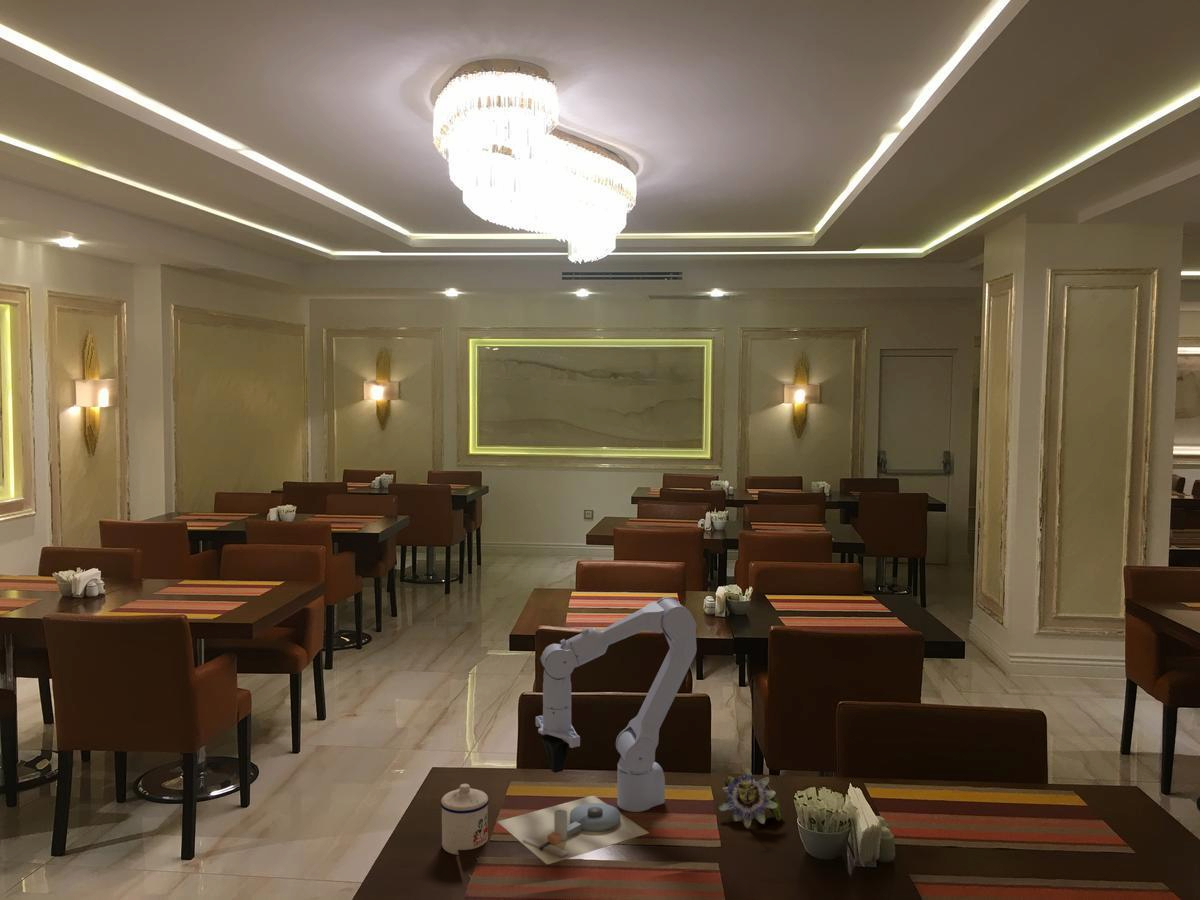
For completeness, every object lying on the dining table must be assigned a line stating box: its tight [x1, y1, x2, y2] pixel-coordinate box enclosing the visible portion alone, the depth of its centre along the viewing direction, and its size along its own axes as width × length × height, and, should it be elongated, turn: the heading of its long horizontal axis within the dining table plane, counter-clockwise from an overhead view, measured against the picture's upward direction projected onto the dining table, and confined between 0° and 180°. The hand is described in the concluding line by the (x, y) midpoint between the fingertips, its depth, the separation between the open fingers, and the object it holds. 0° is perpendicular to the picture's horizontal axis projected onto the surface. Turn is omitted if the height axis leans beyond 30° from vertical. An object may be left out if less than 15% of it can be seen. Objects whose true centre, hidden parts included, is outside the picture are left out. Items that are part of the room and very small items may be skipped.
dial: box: [547, 803, 621, 845], centre depth 186 cm, size 18×10×5 cm, turn 139°
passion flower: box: [717, 768, 783, 830], centre depth 192 cm, size 11×11×12 cm
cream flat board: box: [496, 795, 650, 865], centre depth 186 cm, size 23×20×2 cm
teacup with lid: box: [439, 783, 490, 856], centre depth 182 cm, size 12×9×12 cm
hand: (557, 770), depth 193 cm, fingers closed
